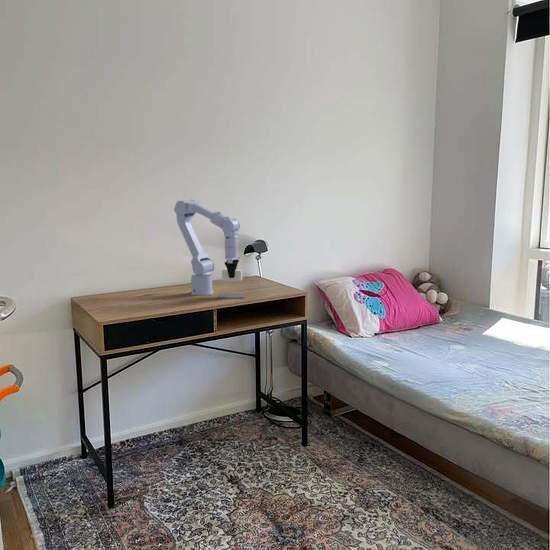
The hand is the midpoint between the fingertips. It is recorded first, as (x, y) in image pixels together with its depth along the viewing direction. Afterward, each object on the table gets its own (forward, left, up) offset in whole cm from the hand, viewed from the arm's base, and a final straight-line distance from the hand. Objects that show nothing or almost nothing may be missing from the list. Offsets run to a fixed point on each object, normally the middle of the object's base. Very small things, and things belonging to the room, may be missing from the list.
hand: (232, 276), depth 244 cm
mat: (0, 0, -9) cm, 9 cm away
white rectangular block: (0, 0, -2) cm, 2 cm away
